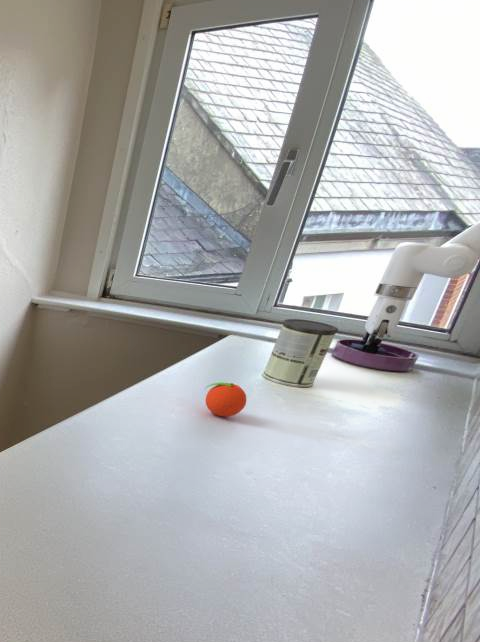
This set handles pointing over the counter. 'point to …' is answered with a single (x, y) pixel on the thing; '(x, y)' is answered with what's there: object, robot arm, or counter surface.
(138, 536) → the counter surface
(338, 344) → the bowl
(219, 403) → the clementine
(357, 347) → the eraser
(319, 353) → the coffee can
